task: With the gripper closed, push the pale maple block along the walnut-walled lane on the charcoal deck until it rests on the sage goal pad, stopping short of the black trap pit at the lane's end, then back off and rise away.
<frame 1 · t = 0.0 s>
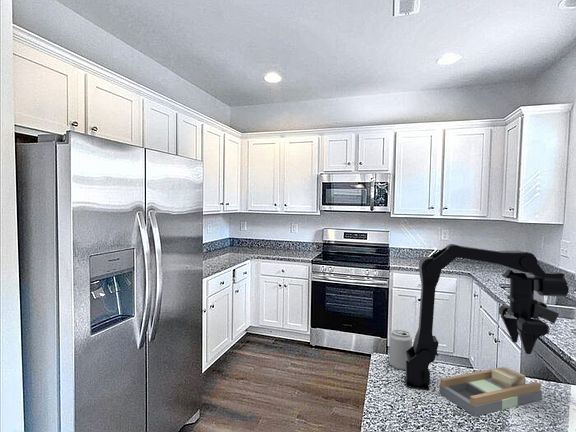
hand: (521, 347, 95), 15 cm above the counter, tool pointing down, fingers open, 9 cm apart
can: (400, 366, 115), on the counter
maple block: (508, 384, 99), point 2 cm above the counter, touching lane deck
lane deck: (489, 396, 96), on the counter
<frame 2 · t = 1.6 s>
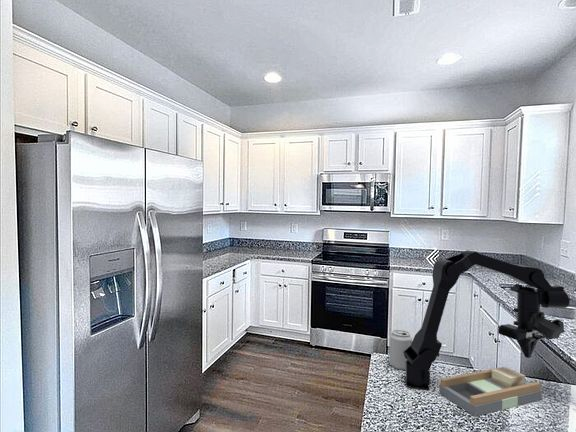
hand: (527, 357, 102), 9 cm above the counter, tool pointing down, fingers closed
nothing on the counter moved.
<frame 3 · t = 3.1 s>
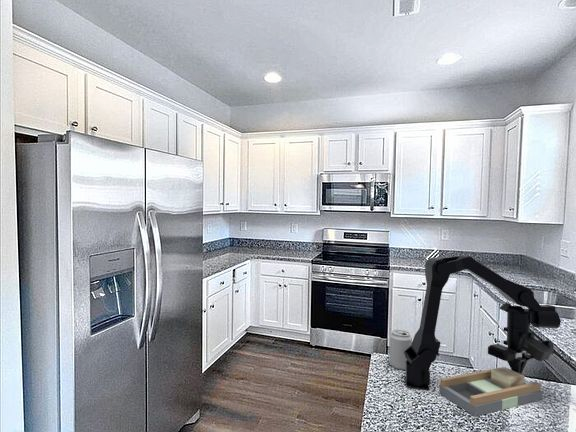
hand: (517, 377, 100), 4 cm above the counter, tool pointing down, fingers closed
maple block: (507, 384, 98), point 3 cm above the counter, touching gripper
everything else where it was.
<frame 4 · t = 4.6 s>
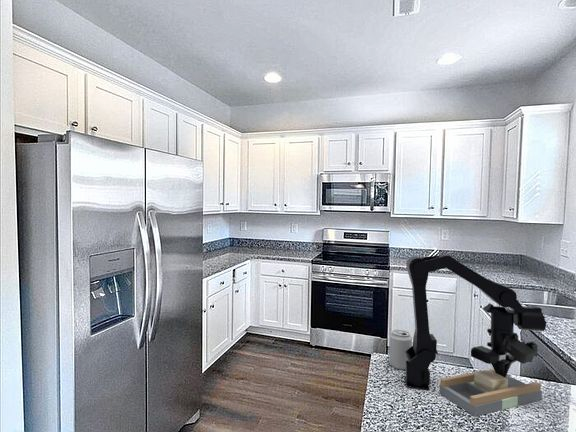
hand: (501, 380, 98), 4 cm above the counter, tool pointing down, fingers closed
maple block: (490, 387, 96), point 2 cm above the counter, touching gripper, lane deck
everything else where it was.
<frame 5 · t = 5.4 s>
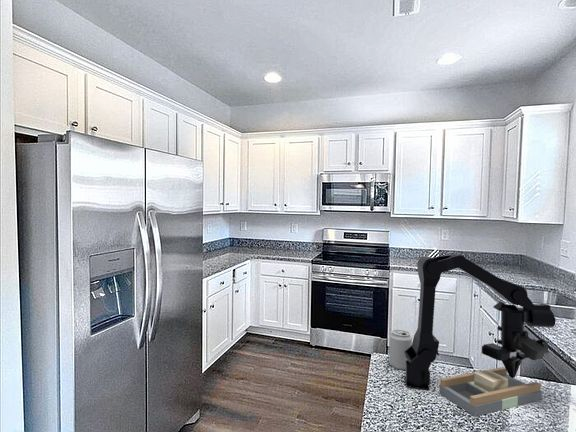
hand: (512, 377, 99), 4 cm above the counter, tool pointing down, fingers closed
maple block: (490, 387, 96), point 2 cm above the counter, touching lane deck
everything else where it was.
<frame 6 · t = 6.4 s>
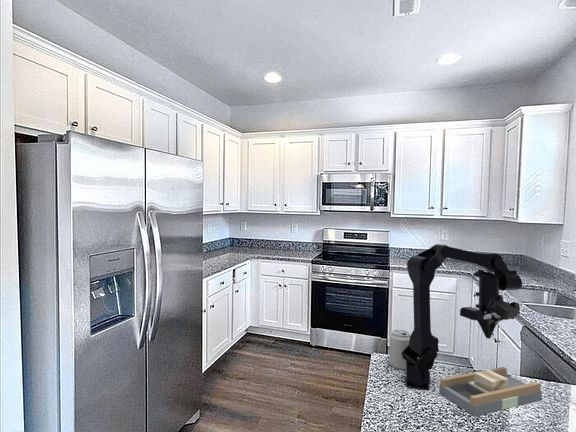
hand: (488, 338, 108), 13 cm above the counter, tool pointing down, fingers closed
nothing on the counter moved.
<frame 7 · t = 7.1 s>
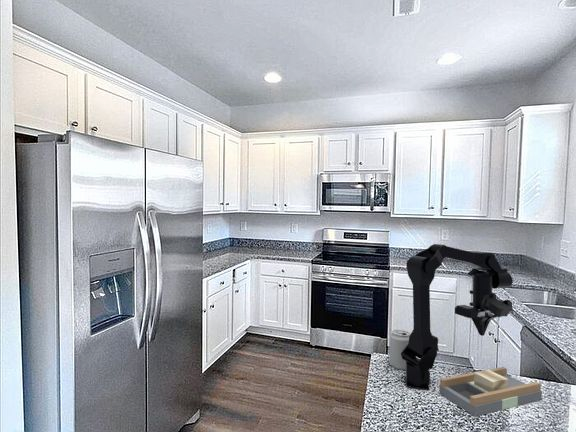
hand: (481, 335, 111), 13 cm above the counter, tool pointing down, fingers closed
nothing on the counter moved.
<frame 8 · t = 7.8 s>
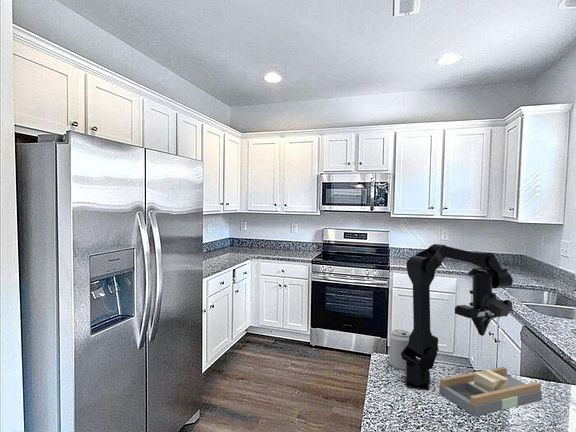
hand: (481, 335, 111), 13 cm above the counter, tool pointing down, fingers closed
nothing on the counter moved.
at the end: maple block 0.4 cm off-centre on the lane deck, point 2.5 cm above the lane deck's base; maple block tilted 0° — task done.
